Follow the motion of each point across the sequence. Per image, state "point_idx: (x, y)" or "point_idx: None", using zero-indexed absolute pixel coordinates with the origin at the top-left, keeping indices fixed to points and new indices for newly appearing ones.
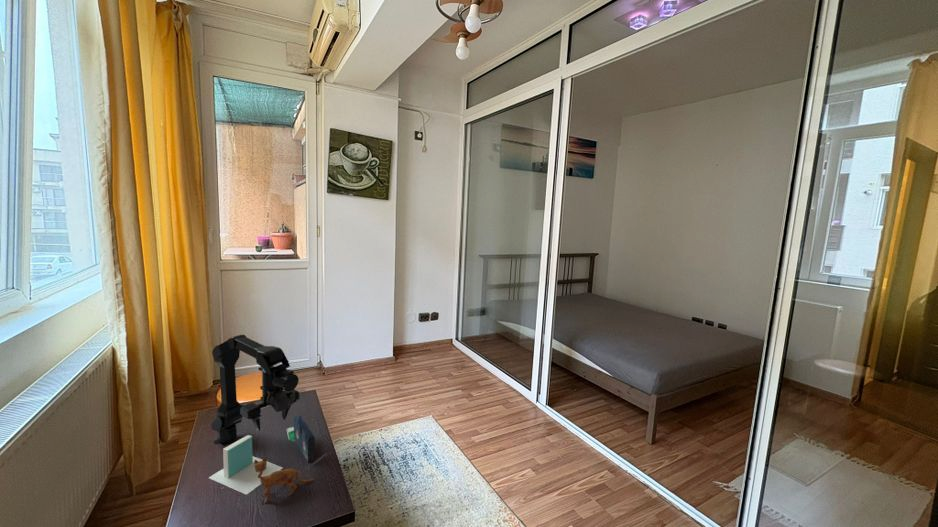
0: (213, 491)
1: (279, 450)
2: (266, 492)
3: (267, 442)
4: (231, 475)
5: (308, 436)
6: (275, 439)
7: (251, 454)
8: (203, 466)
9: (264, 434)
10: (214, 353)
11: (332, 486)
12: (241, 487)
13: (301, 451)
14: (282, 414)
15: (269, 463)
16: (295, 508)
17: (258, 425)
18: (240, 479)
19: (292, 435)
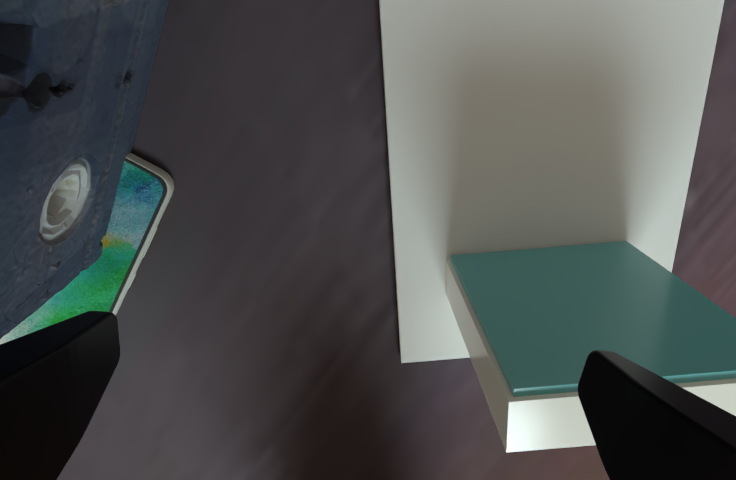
0: (728, 216)
1: (247, 233)
2: None
3: (244, 372)
4: (613, 243)
5: None
6: (191, 360)
7: (474, 287)
8: (574, 447)
9: (207, 452)
10: None
11: None
12: (676, 75)
13: (150, 47)
14: (67, 432)
15: (397, 147)
16: None
17: (732, 428)
18: (611, 163)
19: (84, 302)
